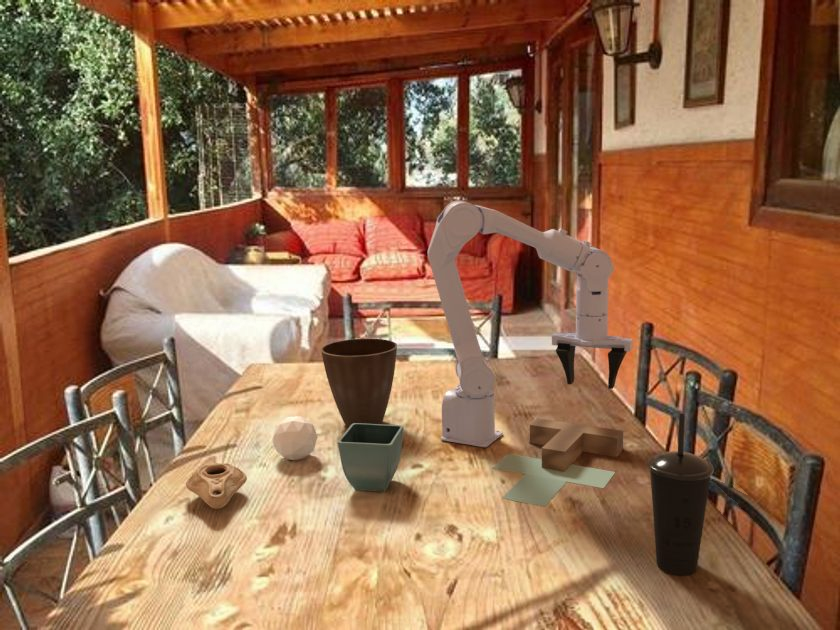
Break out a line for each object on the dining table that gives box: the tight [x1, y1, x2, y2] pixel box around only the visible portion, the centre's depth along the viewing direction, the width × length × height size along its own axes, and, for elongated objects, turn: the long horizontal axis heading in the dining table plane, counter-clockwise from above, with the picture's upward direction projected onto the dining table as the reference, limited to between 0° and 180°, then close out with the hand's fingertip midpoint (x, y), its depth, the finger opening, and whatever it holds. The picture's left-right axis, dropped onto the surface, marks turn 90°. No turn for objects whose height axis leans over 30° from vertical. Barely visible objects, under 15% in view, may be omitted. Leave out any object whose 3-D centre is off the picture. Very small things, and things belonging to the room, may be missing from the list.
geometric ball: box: [272, 415, 318, 461], centre depth 133 cm, size 8×8×8 cm
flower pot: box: [337, 423, 404, 493], centre depth 120 cm, size 9×9×9 cm
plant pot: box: [320, 337, 398, 429], centre depth 149 cm, size 15×15×16 cm
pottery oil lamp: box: [185, 462, 248, 510], centre depth 116 cm, size 9×12×7 cm
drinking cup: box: [647, 413, 715, 577], centre depth 93 cm, size 8×8×20 cm
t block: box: [529, 417, 624, 472], centre depth 131 cm, size 16×14×4 cm
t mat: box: [492, 453, 616, 508], centre depth 121 cm, size 19×17×1 cm
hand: (590, 385), depth 139 cm, fingers open, 7 cm apart
